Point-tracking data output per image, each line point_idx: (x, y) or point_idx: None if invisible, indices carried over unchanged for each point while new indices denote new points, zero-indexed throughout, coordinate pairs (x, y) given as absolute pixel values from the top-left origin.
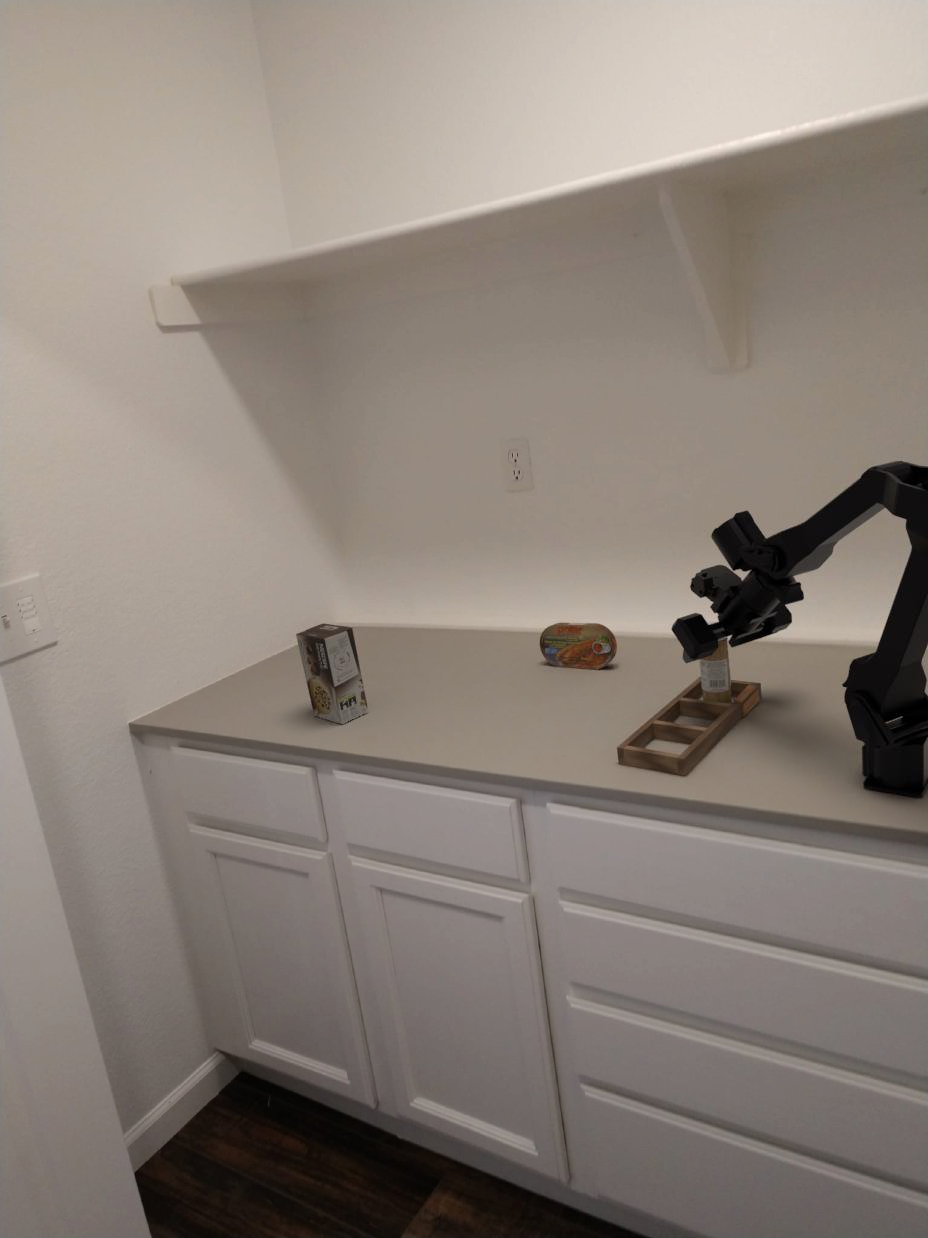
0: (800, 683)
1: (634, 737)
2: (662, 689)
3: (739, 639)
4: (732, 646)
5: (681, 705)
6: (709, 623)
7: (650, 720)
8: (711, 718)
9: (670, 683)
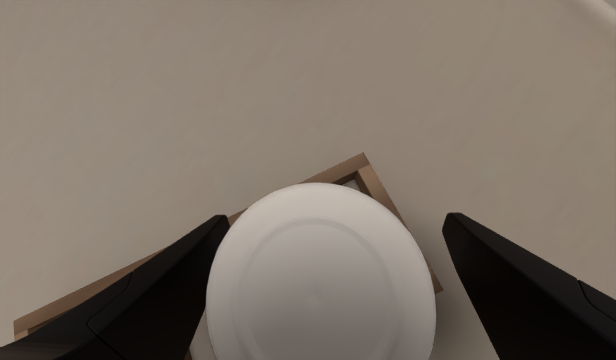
0: None
1: (61, 310)
2: (313, 110)
3: (479, 287)
4: (444, 236)
5: None
6: (339, 239)
7: (135, 267)
8: None
9: (342, 98)
